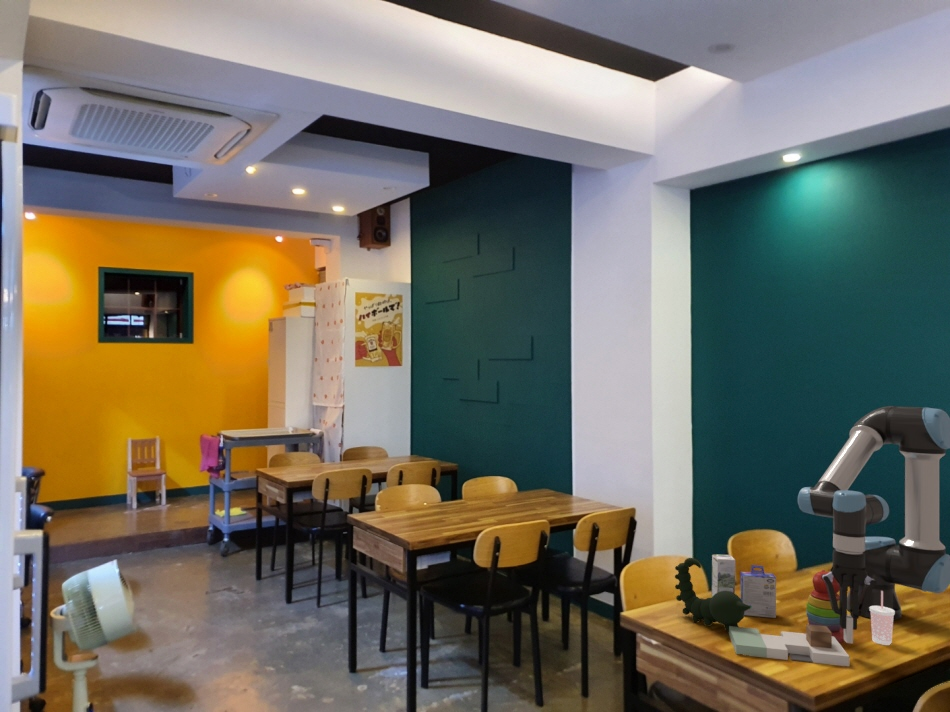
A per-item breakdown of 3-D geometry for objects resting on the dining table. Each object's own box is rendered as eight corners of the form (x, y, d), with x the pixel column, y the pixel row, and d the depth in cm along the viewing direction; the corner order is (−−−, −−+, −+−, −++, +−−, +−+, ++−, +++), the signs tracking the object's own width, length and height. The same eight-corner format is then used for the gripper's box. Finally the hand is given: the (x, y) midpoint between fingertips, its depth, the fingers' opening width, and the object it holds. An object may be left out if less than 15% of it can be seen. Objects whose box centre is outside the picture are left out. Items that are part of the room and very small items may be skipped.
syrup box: (728, 598, 226) (729, 554, 227) (735, 604, 221) (735, 558, 221) (711, 598, 227) (711, 553, 227) (717, 604, 221) (717, 558, 221)
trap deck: (833, 645, 188) (833, 636, 188) (849, 666, 174) (849, 656, 174) (729, 635, 194) (729, 626, 194) (736, 654, 180) (736, 644, 180)
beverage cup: (888, 647, 187) (888, 595, 187) (865, 640, 192) (865, 589, 192) (898, 643, 191) (898, 592, 191) (875, 636, 196) (875, 586, 196)
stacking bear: (844, 645, 188) (845, 579, 189) (803, 637, 194) (804, 573, 194) (847, 633, 197) (847, 570, 198) (808, 625, 203) (809, 564, 203)
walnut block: (826, 641, 184) (826, 626, 184) (831, 648, 179) (831, 632, 179) (806, 639, 185) (806, 624, 185) (810, 646, 180) (810, 630, 180)
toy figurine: (670, 621, 209) (741, 641, 188) (667, 557, 211) (736, 570, 190) (691, 616, 214) (762, 635, 193) (688, 553, 216) (758, 565, 195)
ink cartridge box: (773, 612, 213) (773, 565, 214) (777, 618, 208) (777, 570, 209) (739, 609, 215) (739, 563, 216) (742, 615, 210) (743, 568, 210)
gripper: (871, 549, 183) (870, 638, 183) (818, 545, 186) (817, 633, 186) (881, 556, 176) (880, 649, 175) (825, 552, 179) (825, 643, 178)
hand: (848, 641), depth 181 cm, fingers closed
